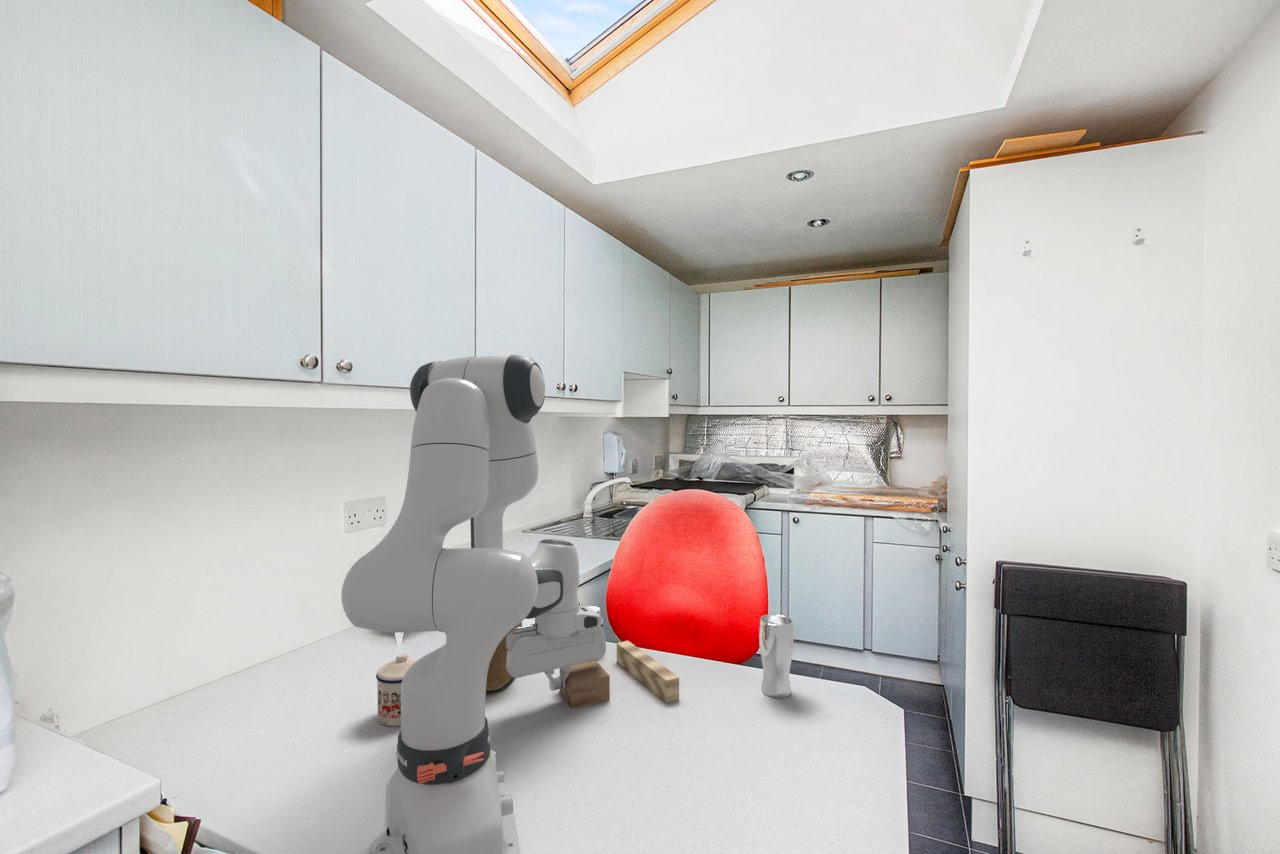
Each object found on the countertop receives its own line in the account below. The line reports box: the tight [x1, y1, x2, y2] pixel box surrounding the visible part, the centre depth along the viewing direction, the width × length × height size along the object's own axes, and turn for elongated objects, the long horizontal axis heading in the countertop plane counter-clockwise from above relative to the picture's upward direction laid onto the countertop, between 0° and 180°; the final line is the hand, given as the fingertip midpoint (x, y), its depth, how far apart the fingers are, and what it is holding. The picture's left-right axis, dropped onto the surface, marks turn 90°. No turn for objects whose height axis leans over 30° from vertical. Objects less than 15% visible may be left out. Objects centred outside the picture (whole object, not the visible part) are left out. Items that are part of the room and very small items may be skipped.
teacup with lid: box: [375, 653, 420, 727], centre depth 111 cm, size 12×9×12 cm
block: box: [559, 660, 611, 709], centre depth 119 cm, size 8×8×5 cm
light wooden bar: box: [616, 640, 680, 704], centre depth 126 cm, size 22×3×4 cm, turn 29°
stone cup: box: [486, 621, 523, 692], centre depth 126 cm, size 15×12×15 cm
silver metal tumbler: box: [758, 613, 795, 699], centre depth 120 cm, size 7×7×15 cm
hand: (557, 688), depth 116 cm, fingers closed
